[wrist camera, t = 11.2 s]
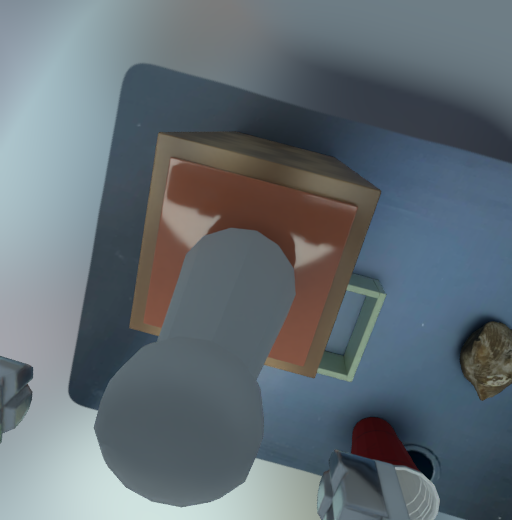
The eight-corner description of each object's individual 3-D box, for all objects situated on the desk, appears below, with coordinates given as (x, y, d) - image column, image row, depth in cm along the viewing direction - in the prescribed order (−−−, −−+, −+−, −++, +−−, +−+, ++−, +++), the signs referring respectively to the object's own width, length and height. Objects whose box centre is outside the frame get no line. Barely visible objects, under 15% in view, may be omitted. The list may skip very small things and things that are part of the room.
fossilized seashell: (460, 323, 46) (441, 383, 51) (513, 357, 41) (486, 421, 46) (501, 307, 49) (480, 365, 54) (555, 338, 44) (526, 399, 49)
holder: (258, 338, 53) (255, 356, 49) (282, 254, 49) (281, 266, 44) (347, 362, 53) (351, 382, 48) (378, 280, 48) (386, 294, 44)
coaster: (146, 318, 24) (142, 323, 23) (173, 155, 20) (169, 156, 20) (303, 361, 23) (303, 367, 23) (357, 204, 20) (358, 206, 19)
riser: (214, 228, 48) (128, 328, 24) (235, 131, 44) (158, 131, 20) (306, 252, 48) (314, 379, 24) (335, 157, 44) (382, 190, 20)
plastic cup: (428, 426, 55) (462, 504, 43) (379, 472, 58) (399, 554, 47) (367, 387, 54) (385, 456, 42) (321, 436, 57) (326, 511, 46)
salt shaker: (243, 194, 20) (154, 298, 8) (318, 271, 21) (346, 472, 8) (171, 267, 22) (4, 446, 9) (243, 334, 22) (177, 578, 10)
